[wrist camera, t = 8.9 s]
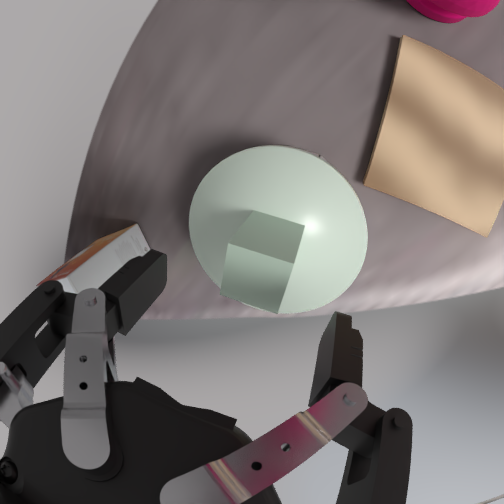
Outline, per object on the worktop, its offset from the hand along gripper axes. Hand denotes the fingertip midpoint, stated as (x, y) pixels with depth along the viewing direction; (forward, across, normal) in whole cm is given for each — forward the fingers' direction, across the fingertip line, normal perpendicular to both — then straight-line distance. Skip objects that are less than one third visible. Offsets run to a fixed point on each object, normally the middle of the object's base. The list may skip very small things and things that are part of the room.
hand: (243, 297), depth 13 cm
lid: (+7, 0, 0) cm, 7 cm away
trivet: (+12, -11, -10) cm, 19 cm away
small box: (+12, +16, +10) cm, 22 cm away
